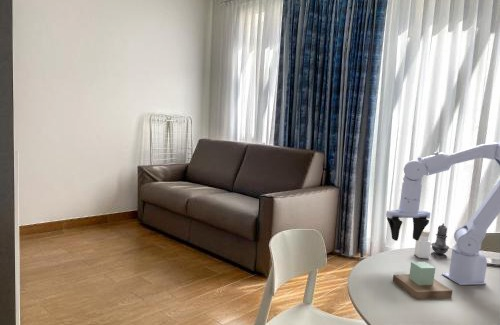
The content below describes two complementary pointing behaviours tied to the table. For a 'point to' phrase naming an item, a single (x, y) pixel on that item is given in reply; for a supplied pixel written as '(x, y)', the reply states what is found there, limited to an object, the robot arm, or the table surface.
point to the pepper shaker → (423, 245)
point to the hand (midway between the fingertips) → (405, 239)
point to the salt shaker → (440, 243)
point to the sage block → (422, 273)
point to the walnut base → (422, 288)
